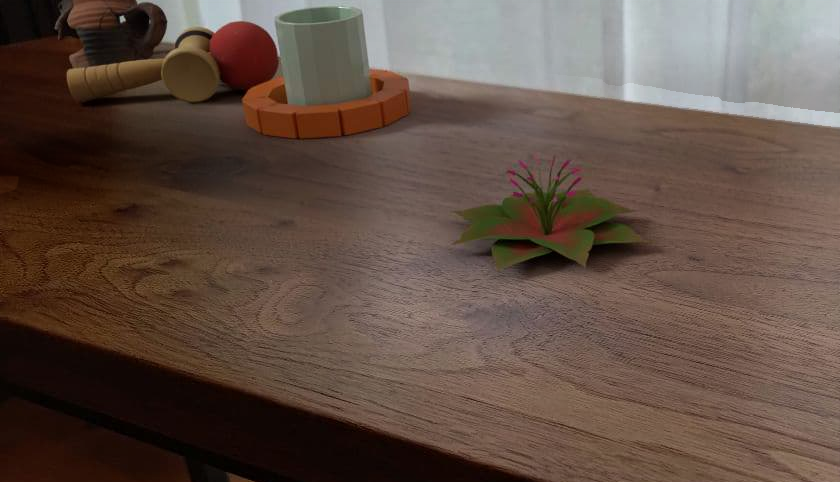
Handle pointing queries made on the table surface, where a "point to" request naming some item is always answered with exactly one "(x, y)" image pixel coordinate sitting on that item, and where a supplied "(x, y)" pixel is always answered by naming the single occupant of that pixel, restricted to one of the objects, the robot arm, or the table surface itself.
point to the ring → (326, 109)
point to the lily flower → (546, 222)
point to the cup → (323, 55)
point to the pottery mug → (111, 30)
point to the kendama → (189, 65)
